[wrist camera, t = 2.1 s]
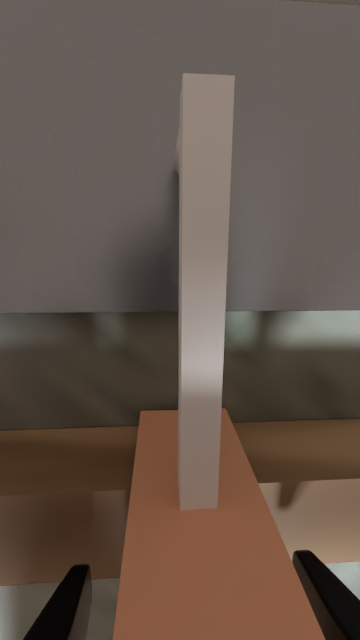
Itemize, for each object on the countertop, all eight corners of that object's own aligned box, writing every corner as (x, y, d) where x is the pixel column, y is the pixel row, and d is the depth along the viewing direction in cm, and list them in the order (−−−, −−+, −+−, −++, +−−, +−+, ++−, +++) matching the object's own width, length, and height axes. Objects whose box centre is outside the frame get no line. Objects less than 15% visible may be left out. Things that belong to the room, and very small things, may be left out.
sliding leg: (220, 520, 11) (307, 893, 5) (143, 524, 11) (120, 921, 4) (236, 161, 9) (501, -162, 2) (133, 158, 8) (35, -213, 2)
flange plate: (457, 304, 11) (489, 309, 10) (-134, 308, 9) (-172, 314, 8) (513, 44, 9) (560, 16, 8) (-206, 2, 7) (-265, -40, 6)
